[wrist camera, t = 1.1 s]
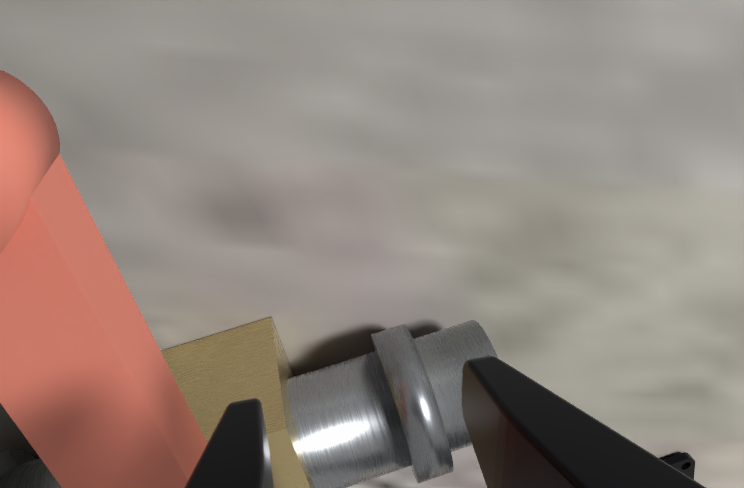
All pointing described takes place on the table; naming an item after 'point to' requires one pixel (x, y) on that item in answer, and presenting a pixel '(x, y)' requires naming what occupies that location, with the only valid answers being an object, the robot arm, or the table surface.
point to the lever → (77, 327)
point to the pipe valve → (323, 404)
